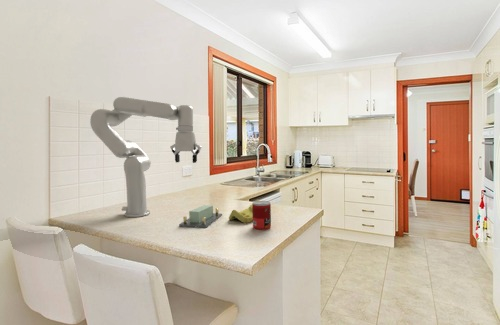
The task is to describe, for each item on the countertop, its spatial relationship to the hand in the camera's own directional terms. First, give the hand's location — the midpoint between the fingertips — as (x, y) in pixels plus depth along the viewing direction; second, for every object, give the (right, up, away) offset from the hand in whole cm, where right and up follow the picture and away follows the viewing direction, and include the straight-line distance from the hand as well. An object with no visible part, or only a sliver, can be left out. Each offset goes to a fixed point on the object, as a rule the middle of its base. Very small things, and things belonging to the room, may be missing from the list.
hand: (186, 162), depth 154 cm
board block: (+10, -27, -13) cm, 32 cm away
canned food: (+39, -29, -26) cm, 55 cm away
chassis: (+11, -28, -13) cm, 32 cm away
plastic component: (+34, -28, -9) cm, 44 cm away
